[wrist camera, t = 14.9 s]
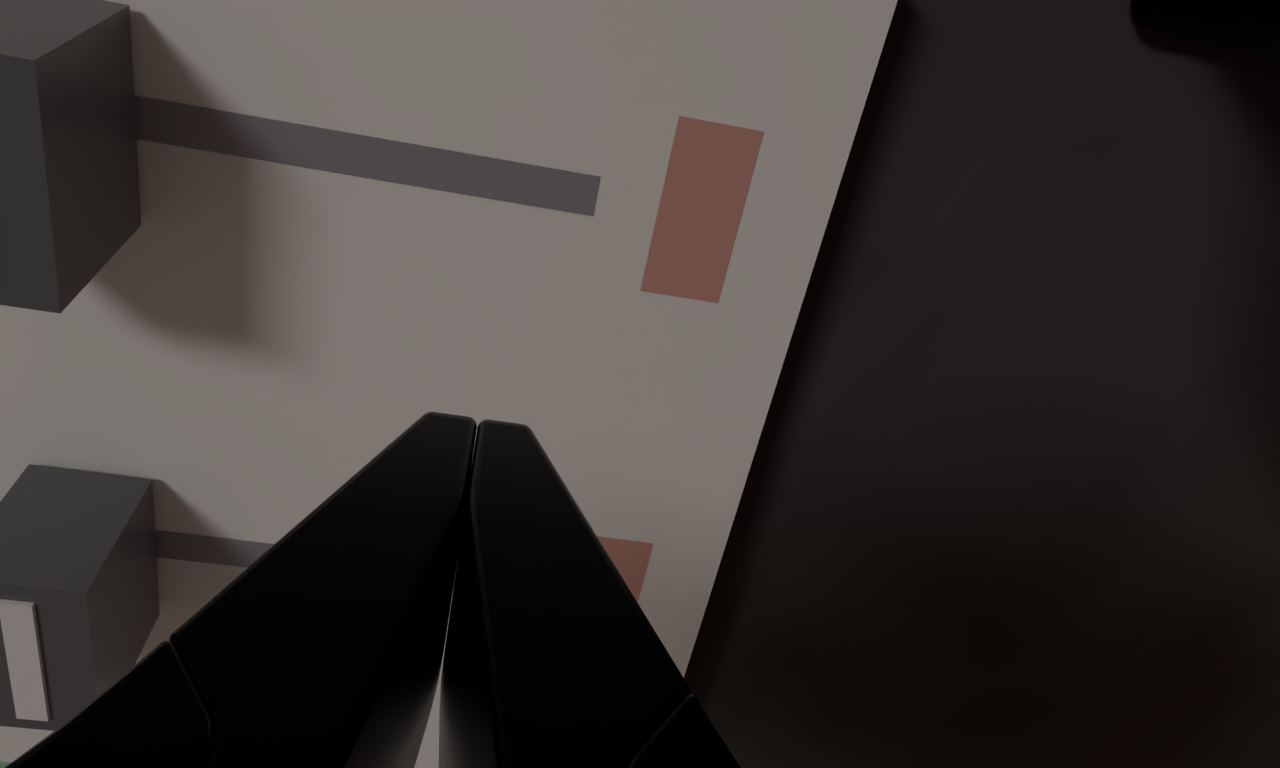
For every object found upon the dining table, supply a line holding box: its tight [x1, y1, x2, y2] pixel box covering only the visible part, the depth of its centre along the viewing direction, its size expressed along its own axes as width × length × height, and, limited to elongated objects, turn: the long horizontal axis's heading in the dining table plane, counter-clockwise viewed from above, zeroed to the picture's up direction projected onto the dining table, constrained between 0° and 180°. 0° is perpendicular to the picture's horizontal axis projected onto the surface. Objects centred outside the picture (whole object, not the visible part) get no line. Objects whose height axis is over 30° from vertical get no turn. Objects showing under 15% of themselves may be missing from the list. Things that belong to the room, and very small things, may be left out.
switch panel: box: [0, 0, 898, 768], centre depth 25 cm, size 20×30×2 cm, turn 169°
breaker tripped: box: [0, 464, 160, 731], centre depth 22 cm, size 2×4×4 cm, turn 169°
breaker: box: [0, 0, 141, 314], centre depth 17 cm, size 2×4×4 cm, turn 169°
